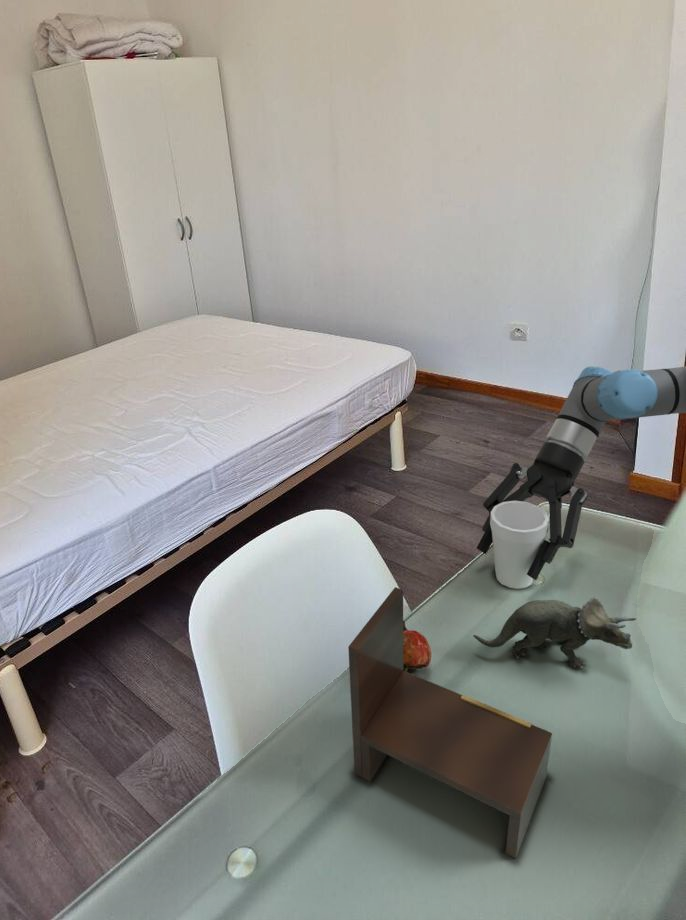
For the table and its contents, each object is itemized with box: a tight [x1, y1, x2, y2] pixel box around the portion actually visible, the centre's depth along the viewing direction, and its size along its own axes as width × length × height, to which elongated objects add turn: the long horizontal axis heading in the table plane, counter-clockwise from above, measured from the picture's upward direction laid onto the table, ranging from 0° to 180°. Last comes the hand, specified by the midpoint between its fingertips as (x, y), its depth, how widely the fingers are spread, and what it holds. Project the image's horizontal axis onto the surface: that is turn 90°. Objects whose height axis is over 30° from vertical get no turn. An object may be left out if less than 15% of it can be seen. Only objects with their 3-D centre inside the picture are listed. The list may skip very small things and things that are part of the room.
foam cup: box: [490, 501, 550, 590], centre depth 119 cm, size 10×9×13 cm
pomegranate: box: [403, 620, 432, 672], centre depth 103 cm, size 7×7×10 cm
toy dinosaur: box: [472, 596, 637, 669], centre depth 103 cm, size 22×8×11 cm, turn 73°
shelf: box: [348, 586, 553, 860], centre depth 83 cm, size 21×12×22 cm, turn 57°
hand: (505, 563), depth 118 cm, fingers closed on foam cup, 9 cm apart
